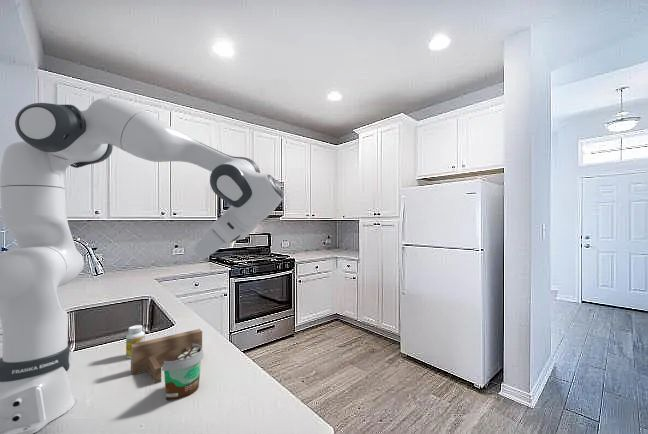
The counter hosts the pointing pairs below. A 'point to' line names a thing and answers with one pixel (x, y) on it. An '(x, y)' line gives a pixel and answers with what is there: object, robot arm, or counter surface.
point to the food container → (183, 373)
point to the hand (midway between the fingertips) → (204, 254)
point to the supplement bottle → (134, 338)
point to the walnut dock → (161, 352)
